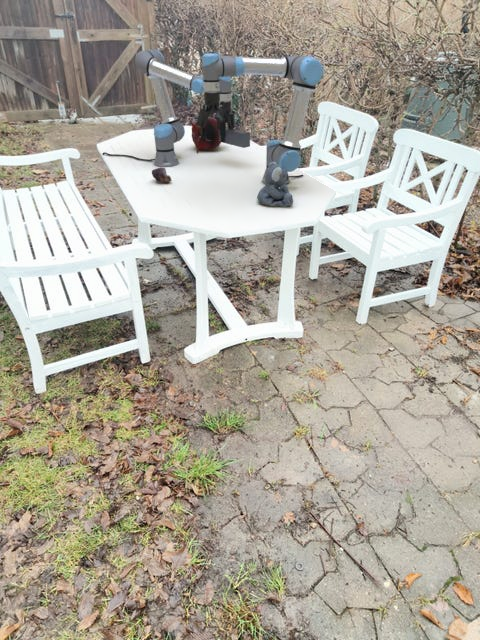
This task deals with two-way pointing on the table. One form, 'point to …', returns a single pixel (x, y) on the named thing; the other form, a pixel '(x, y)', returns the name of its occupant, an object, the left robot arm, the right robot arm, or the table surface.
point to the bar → (236, 137)
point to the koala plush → (275, 188)
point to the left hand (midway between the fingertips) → (226, 140)
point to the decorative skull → (211, 135)
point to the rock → (161, 175)
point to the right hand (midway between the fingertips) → (213, 139)
